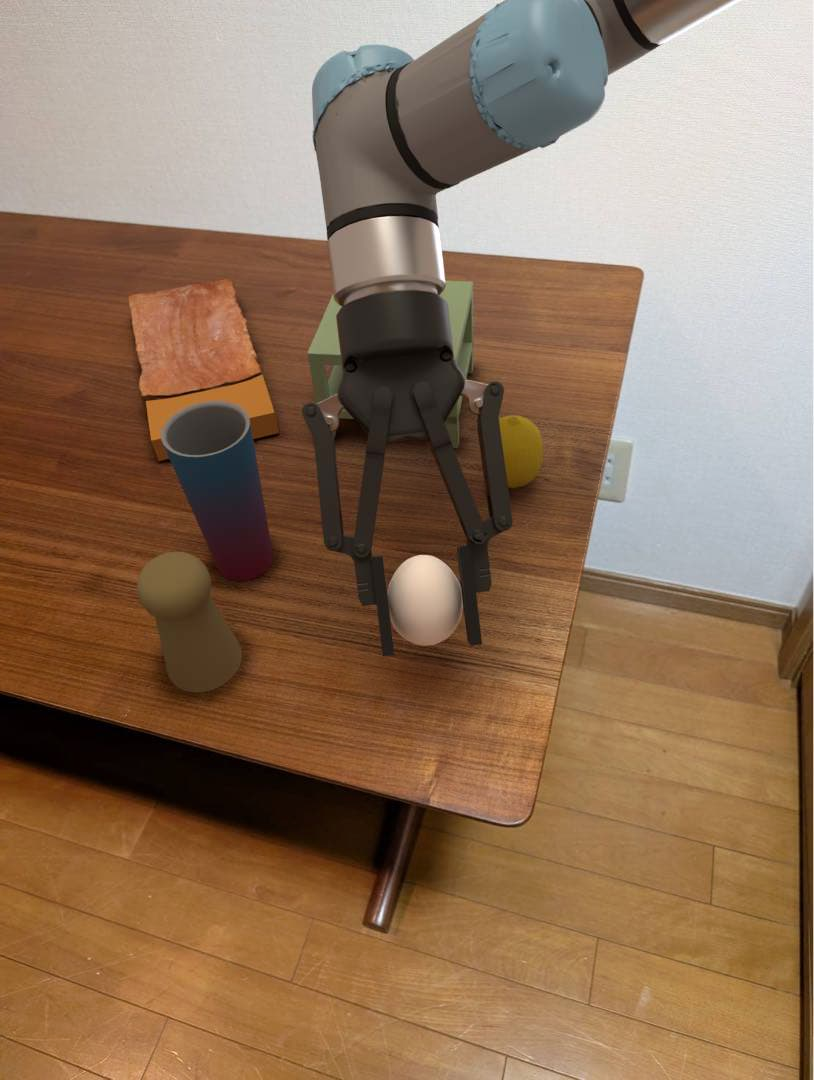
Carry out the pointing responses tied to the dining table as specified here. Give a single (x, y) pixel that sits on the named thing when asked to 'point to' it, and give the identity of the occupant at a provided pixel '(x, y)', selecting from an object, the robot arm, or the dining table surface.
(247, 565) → the cup
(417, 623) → the egg
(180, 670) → the cork
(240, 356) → the salmon fillet board
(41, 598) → the dining table surface
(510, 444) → the lemon
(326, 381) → the green side table
